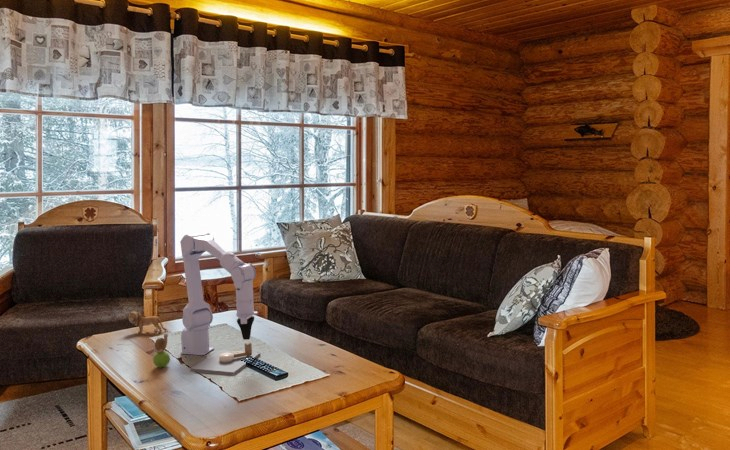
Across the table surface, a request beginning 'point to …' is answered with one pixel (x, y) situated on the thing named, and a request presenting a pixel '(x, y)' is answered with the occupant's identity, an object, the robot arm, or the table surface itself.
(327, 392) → the table surface
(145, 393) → the table surface
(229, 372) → the stud board
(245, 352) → the brown white rounded rod
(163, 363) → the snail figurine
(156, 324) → the lion figurine
